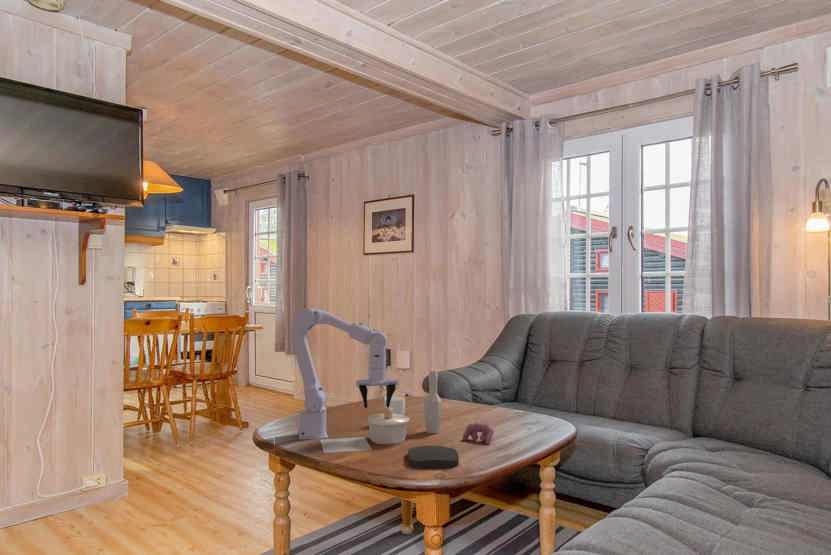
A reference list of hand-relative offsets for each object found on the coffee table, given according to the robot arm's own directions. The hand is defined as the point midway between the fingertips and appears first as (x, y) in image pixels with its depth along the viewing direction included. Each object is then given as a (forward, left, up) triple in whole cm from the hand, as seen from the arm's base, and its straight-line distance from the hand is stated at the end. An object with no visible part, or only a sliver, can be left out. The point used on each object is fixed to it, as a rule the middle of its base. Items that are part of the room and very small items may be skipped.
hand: (376, 407), depth 194 cm
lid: (+3, -6, -4) cm, 7 cm away
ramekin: (+3, -5, -11) cm, 12 cm away
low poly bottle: (+21, +2, -11) cm, 23 cm away
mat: (-12, -8, -10) cm, 18 cm away
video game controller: (+33, -12, -11) cm, 36 cm away
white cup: (+10, +15, -11) cm, 21 cm away
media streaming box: (+12, -29, -11) cm, 33 cm away
